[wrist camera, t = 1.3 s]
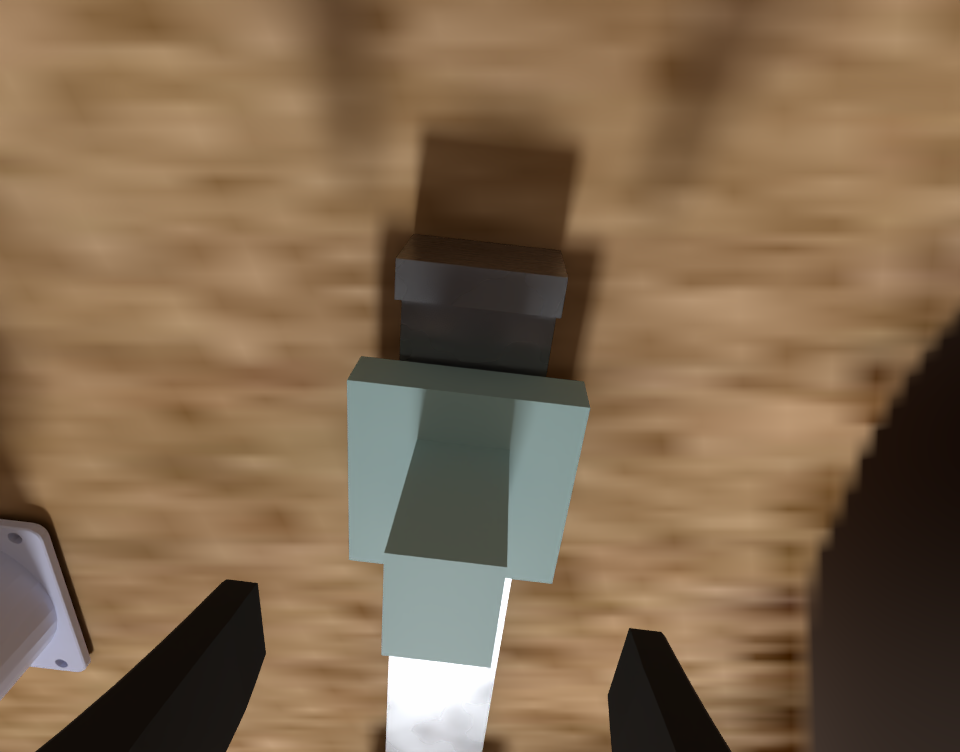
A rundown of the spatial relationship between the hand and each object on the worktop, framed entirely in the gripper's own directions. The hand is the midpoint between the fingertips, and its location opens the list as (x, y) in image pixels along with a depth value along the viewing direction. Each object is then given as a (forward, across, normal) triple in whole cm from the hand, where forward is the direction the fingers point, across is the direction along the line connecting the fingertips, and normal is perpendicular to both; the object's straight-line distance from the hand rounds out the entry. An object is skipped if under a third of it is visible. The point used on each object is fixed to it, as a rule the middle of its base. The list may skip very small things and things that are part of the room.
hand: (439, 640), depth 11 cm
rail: (+8, 0, +7) cm, 10 cm away
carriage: (+6, 0, 0) cm, 6 cm away
